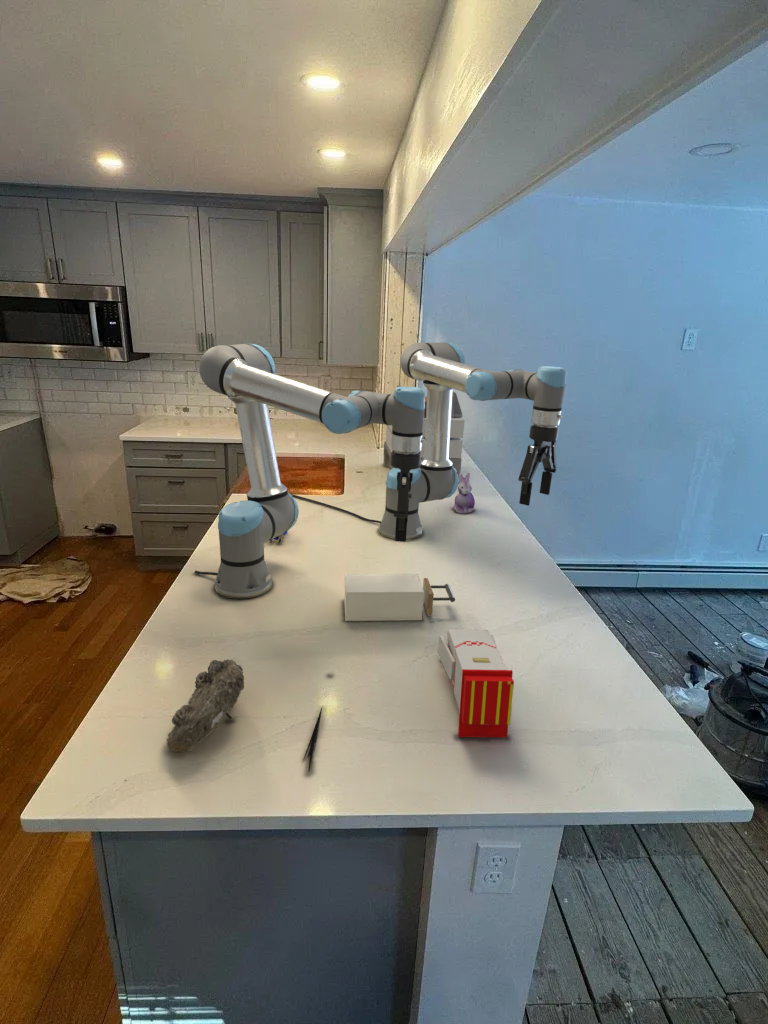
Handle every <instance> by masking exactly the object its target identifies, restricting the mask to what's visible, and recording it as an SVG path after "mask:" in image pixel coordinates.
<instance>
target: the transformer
mask: <svg viewBox="0 0 768 1024" xmlns="http://www.w3.org/2000/svg"><path fill="white" fill-rule="evenodd" d="M397 387H402V385H399V384H398V385H397V386H396V388H397ZM426 406H427V396H425V412H424V423H423V435H422V439H425V429H426ZM464 429H465V419H464V418H463V411H462V408H461V405H460V402H459V398H458V395H457V392H455V391H453V390H452V407H451V424H450V442H449V460H450V461H451V462H452V463H453V465H452V467H454V468H455V469H456V471H457V475H458V479H459V474H462V473H461V472H462V461H463V460H462V453H463V442H464V441H463V440H462V439H463V438H464V431H465V430H464ZM391 441H392V425H386V428H385V438H384V442H383V466H384V467H388V468H389V471H390V470H391V469H392V468H394V467H392V466H391V452H392V451H393V450H392V449H391ZM424 452H425V442H424V443H422V449H421V451H420V453H421V460H422V459H423V458H424ZM459 483H460V481H459V482H458V484H459Z"/></svg>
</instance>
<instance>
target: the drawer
mask: <svg viewBox="0 0 768 1024" xmlns="http://www.w3.org/2000/svg"><path fill="white" fill-rule="evenodd" d="M422 579H423V580H422V588H423V591H424V596H423V606H424V610H425V612H426V615H427V617H429V616H430V617H431V616H433V606H434V602H436V601H437V602H438V601H441V602H443V601H450V602H451V603H454V602H455V601H456V598H455V595H454V593H453V591H452V588H451V585H450V584H449V583H445V584H443V585H442V584H441V585H431V583H430V581H429V578H428V577H424V578H422ZM433 589H445V592H446V594H447V597H434V595H435V594H434V591H433Z"/></svg>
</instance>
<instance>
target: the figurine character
mask: <svg viewBox="0 0 768 1024" xmlns="http://www.w3.org/2000/svg"><path fill="white" fill-rule="evenodd" d="M288 533H289V532H288V531H287V532H285V533H284V534H281V535H279V536H277V537H275V538H274V539H272V540H270V541H269V544H273V540H274V541H278V542H277V543H278V544H281V542H282V540H284V539H285V536H286V535H287V534H288Z"/></svg>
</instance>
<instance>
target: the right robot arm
mask: <svg viewBox="0 0 768 1024" xmlns="http://www.w3.org/2000/svg"><path fill="white" fill-rule="evenodd" d="M399 360H400V361H399V362H400V369H401V372H402V373H403V374H404V375H405V376H406V377H407V378H410V379H413V380H415V381H418V382H422V385H423V386H424V387H425V388H426V397H427V406H426V429H425V452H424V458H423V459H422V460H421V466H420V467H419V468H418V469H414V470H413V469H412V470H410V473H413V479H412V483H411V492H410V493H409V494H412V495H411V498H408V499H409V507H408V522H407V532H406V541H410V540H415V539H418V538H420V537H421V536H422V535H423V525H422V524H421V518H420V515H419V507H420V506H419V505H420V503H426V502H432V501H441V500H444V499H447V498H450V497H452V496H453V495H454V494H455V493H456V491H458V485H459V483H460V482H459V479H458V475H457V471H456V469H455V468H454V467H452V465H453V463H452V462H451V461H450V460H449V442H450V424H451V407H452V392H453V390H456V391H459V392H462V393H465V394H466V395H467V396H468V398H469V399H471V400H472V401H481V402H485V401H496V400H511V399H523V400H529V401H533V404H532V413H531V418H530V423H531V425H530V427H529V439H531V440H533V444H532V445H530V444H529V445H527V449H526V454H525V457H524V460H523V464H522V465H521V470H520V473H519V476H518V482H521V487H520V493H519V494H520V495H519V502H518V503H519V504H520V505H524V506H526V507H527V506H528V507H529V506H530V504H531V497H532V490H533V481H532V480H533V478H534V476H535V473H536V471H537V469H538V467H539V464H540V463H542V467H543V471H542V473H541V478H540V479H541V480H540V486H539V494H543V495H547V496H549V495H550V492H551V486H552V485H551V484H552V478H553V474H555V473H557V452H556V451H557V449H556V445H557V440H558V437H559V431H560V428H559V427H558V426H560V422H561V419H562V418H563V415H562V410H563V407H562V406H563V401H564V395H565V390H566V386H567V370H566V369H565V367H561V366H560V367H559V366H549V365H547V366H546V365H544V366H543V365H542V366H540V367H538V369H537V372H536V371H535V372H534V371H529V370H523V369H520V368H518V369H517V368H513V369H512V368H511V369H508V370H501V371H500V370H499V371H497V370H495V371H494V370H493V371H492V370H487V369H484V368H480V367H477V366H473V365H470V364H467V361H466V360H467V359H466V356H465V354H464V351H463V350H462V348H461V346H459V345H458V344H456V343H451V342H445V341H444V342H415V343H412V344H410V345H408V346H407V347H405V349H404V350H403V352H402V353H401V356H400V359H399ZM400 471H401V470H400V469H398V468H392V469H391V470H390V469H389V470H388V472H387V475H386V479H385V504H384V505H385V507H384V508H385V509H384V513H383V515H382V519H381V520H377V519H372V518H371V519H370V518H367V517H364V516H362V515H359V514H357V513H355V512H352V511H349V510H347V509H343V508H341V507H338V506H334V505H331V504H328V503H325V502H321V501H317V500H314V499H311V498H307V497H305V496H301V495H297V494H293V493H290V492H288V493H289V494H291V495H292V498H293V497H294V498H298V499H300V500H304V501H307V502H311V503H315V504H318V505H322V506H324V507H328V508H332V509H334V510H338V511H340V512H342V513H346V514H348V515H352V516H354V517H357V518H358V519H361V520H363V521H367V522H370V523H377V524H379V526H378V533H379V534H380V535H381V536H382V537H385V538H387V539H389V540H395V532H396V517H394V514H397V505H398V491H397V472H400ZM248 482H249V483H250V480H249V481H248ZM458 482H459V483H458Z"/></svg>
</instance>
